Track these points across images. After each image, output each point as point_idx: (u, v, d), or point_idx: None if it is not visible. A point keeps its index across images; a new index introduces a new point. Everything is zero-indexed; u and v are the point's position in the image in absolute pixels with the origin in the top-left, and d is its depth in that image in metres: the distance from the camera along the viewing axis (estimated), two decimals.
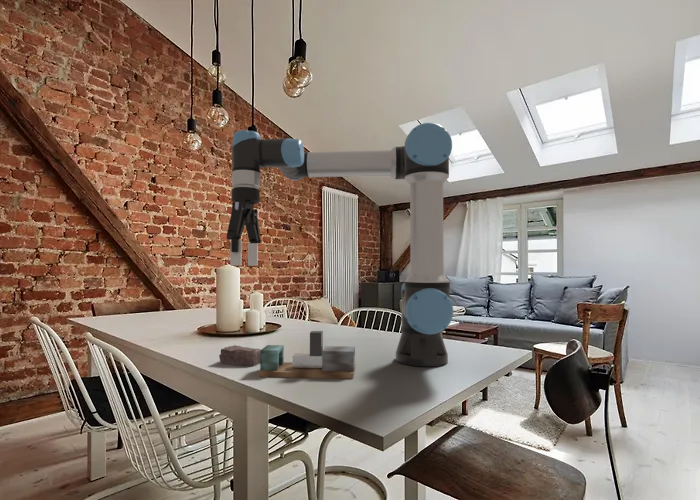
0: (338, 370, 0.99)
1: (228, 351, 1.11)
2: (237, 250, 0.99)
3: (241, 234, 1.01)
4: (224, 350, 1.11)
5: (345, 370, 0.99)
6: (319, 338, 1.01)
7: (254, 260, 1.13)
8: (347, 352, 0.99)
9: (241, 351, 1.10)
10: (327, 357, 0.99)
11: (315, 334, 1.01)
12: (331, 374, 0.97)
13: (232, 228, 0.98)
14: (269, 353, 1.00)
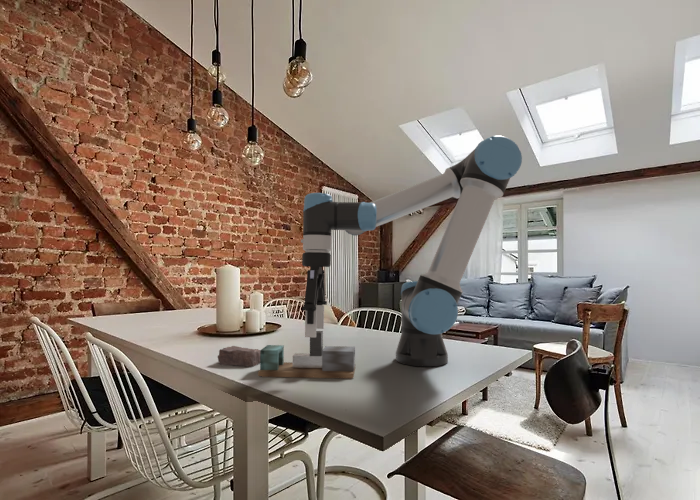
0: (338, 370, 0.99)
1: (227, 352, 1.10)
2: (313, 322, 0.95)
3: (316, 304, 0.97)
4: (223, 351, 1.10)
5: (345, 370, 0.99)
6: (319, 338, 1.01)
7: (321, 323, 1.09)
8: (347, 352, 0.99)
9: (240, 352, 1.09)
10: (327, 357, 0.99)
11: None
12: (331, 374, 0.97)
13: (309, 300, 0.94)
14: (269, 353, 1.00)
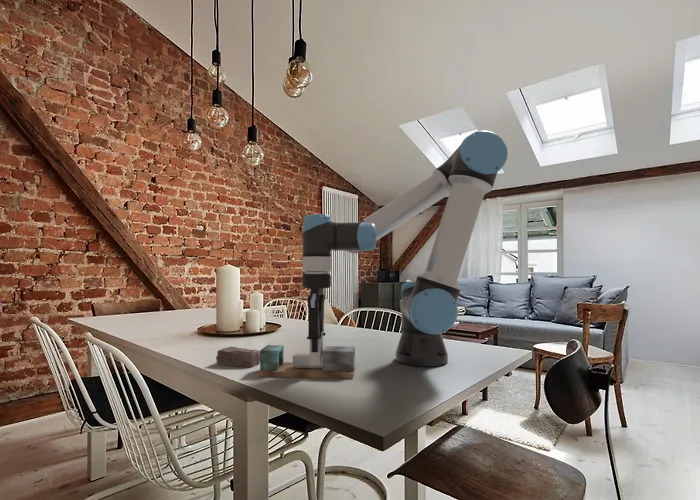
0: (338, 370, 0.99)
1: (225, 352, 1.09)
2: (317, 350, 1.00)
3: (319, 331, 1.01)
4: (221, 351, 1.10)
5: (345, 370, 0.99)
6: None
7: None
8: (347, 352, 0.99)
9: (239, 352, 1.08)
10: (327, 357, 0.99)
11: None
12: (331, 374, 0.97)
13: (313, 331, 0.98)
14: (269, 353, 1.00)
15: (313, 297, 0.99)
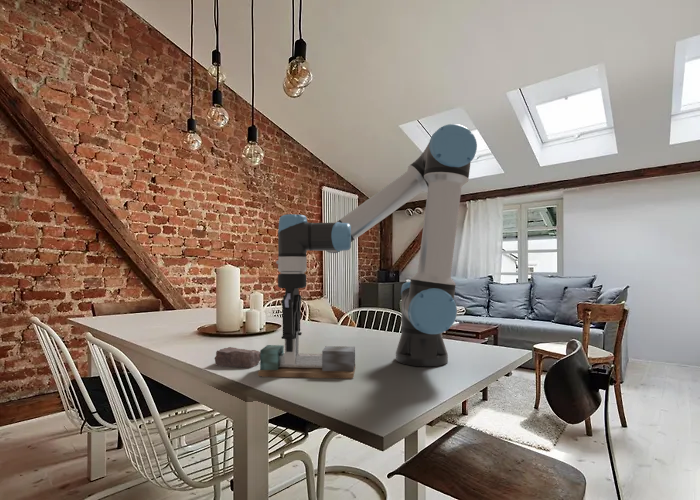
0: (338, 370, 0.99)
1: (224, 353, 1.08)
2: (292, 349, 1.00)
3: (294, 330, 1.01)
4: (220, 352, 1.09)
5: (345, 370, 0.99)
6: None
7: None
8: (347, 352, 0.99)
9: (238, 353, 1.08)
10: (327, 357, 0.99)
11: None
12: (331, 374, 0.97)
13: (287, 330, 0.98)
14: (269, 353, 1.00)
15: (287, 297, 0.99)
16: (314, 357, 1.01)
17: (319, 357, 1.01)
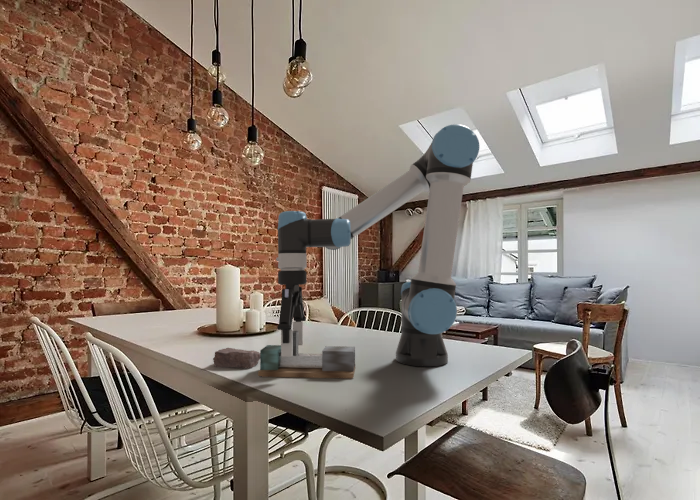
0: (338, 370, 0.99)
1: (223, 354, 1.07)
2: (288, 341, 0.96)
3: (291, 323, 0.97)
4: (218, 353, 1.08)
5: (345, 370, 0.99)
6: (294, 338, 1.02)
7: (300, 339, 1.10)
8: (347, 352, 0.99)
9: (237, 353, 1.07)
10: (327, 357, 0.99)
11: None
12: (331, 374, 0.97)
13: (284, 319, 0.94)
14: (269, 353, 1.00)
15: None
16: (314, 357, 1.01)
17: (319, 357, 1.01)
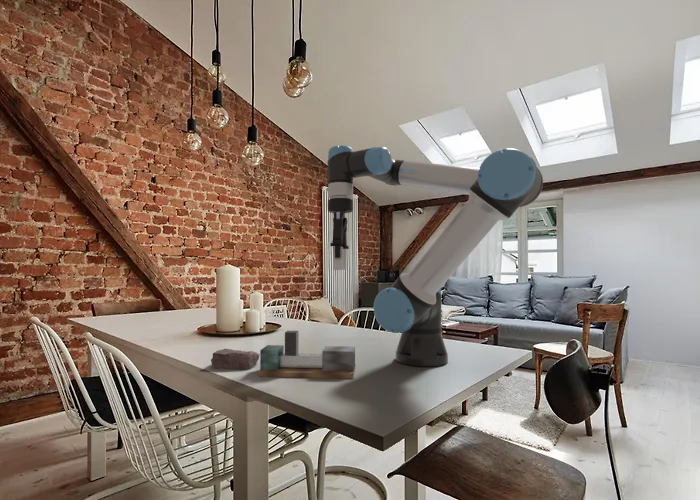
0: (338, 370, 0.99)
1: (221, 355, 1.06)
2: (340, 256, 1.09)
3: (342, 241, 1.10)
4: (217, 354, 1.06)
5: (345, 370, 0.99)
6: (294, 338, 1.02)
7: (344, 264, 1.23)
8: (347, 352, 0.99)
9: (236, 354, 1.06)
10: (327, 357, 0.99)
11: (290, 334, 1.02)
12: (331, 374, 0.97)
13: (336, 236, 1.07)
14: (269, 353, 1.00)
15: None
16: (314, 357, 1.01)
17: (319, 357, 1.01)
